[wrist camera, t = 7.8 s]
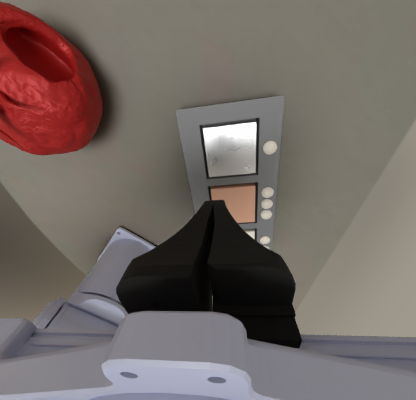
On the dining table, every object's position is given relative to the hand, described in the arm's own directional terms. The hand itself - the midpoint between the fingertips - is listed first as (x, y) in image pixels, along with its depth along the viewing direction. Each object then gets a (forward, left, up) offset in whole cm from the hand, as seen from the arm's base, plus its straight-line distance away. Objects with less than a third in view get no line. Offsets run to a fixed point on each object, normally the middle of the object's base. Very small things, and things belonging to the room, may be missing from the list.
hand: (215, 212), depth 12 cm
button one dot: (+3, +1, -8) cm, 9 cm away
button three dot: (-1, -4, -8) cm, 9 cm away
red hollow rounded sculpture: (-3, +16, -9) cm, 19 cm away
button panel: (-1, -4, -9) cm, 10 cm away
